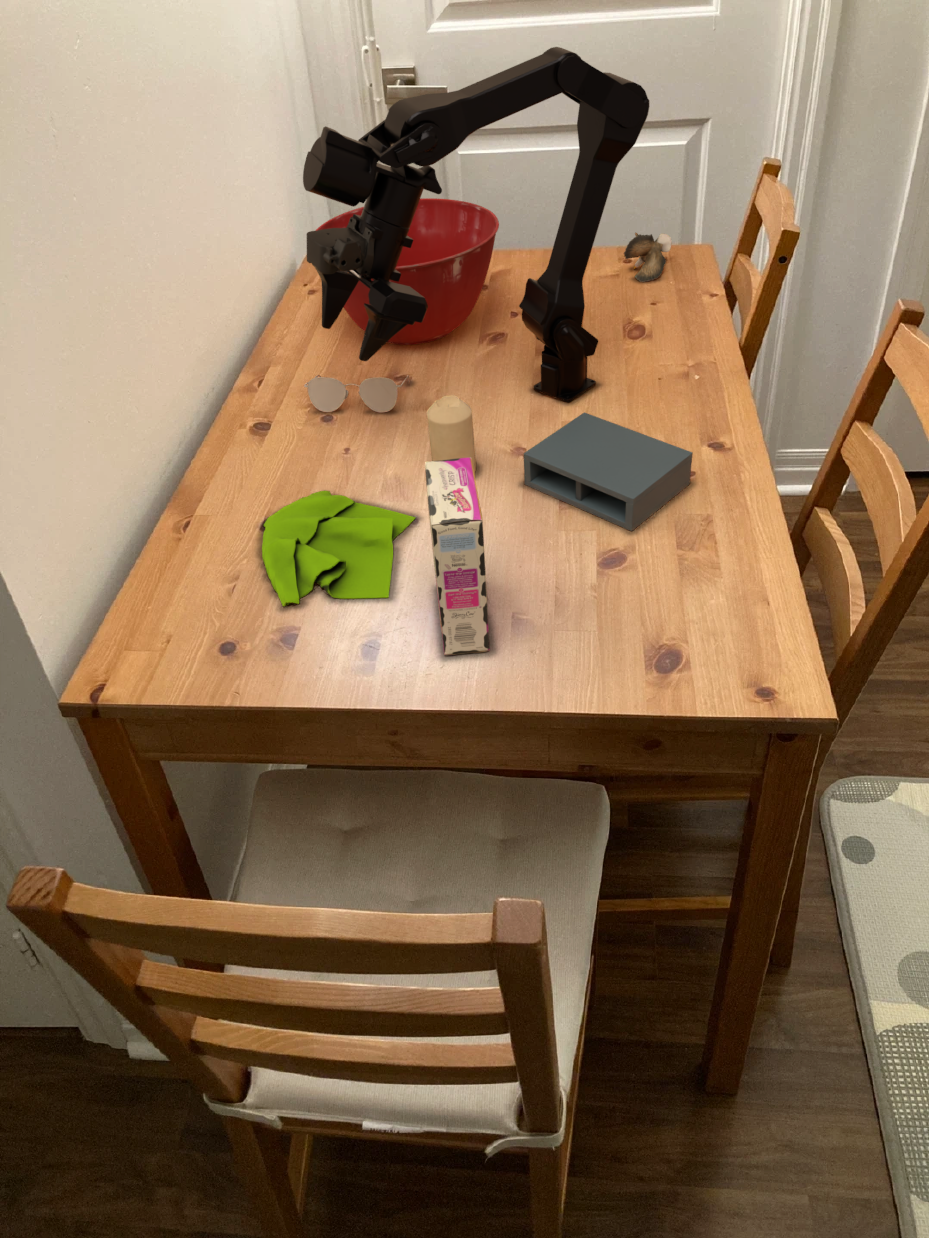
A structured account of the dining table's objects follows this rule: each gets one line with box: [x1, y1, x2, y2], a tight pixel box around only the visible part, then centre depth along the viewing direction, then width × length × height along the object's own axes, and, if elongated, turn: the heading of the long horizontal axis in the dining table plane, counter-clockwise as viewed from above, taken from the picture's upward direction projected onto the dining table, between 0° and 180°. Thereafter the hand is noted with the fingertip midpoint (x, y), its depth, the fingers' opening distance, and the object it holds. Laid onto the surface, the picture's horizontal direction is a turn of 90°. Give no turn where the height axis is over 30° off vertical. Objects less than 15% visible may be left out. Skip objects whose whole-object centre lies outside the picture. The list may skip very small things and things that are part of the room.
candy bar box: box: [424, 457, 491, 656], centre depth 97 cm, size 11×5×16 cm, turn 5°
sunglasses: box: [303, 374, 411, 413], centre depth 139 cm, size 14×8×5 cm, turn 82°
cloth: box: [261, 490, 416, 607], centre depth 112 cm, size 20×22×2 cm
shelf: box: [523, 412, 693, 532], centre depth 118 cm, size 12×16×4 cm
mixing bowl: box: [314, 197, 500, 346], centre depth 151 cm, size 28×28×16 cm
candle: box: [426, 394, 477, 475], centre depth 120 cm, size 6×6×10 cm
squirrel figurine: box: [623, 232, 673, 283], centre depth 164 cm, size 8×7×9 cm
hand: (343, 343), depth 121 cm, fingers open, 9 cm apart
